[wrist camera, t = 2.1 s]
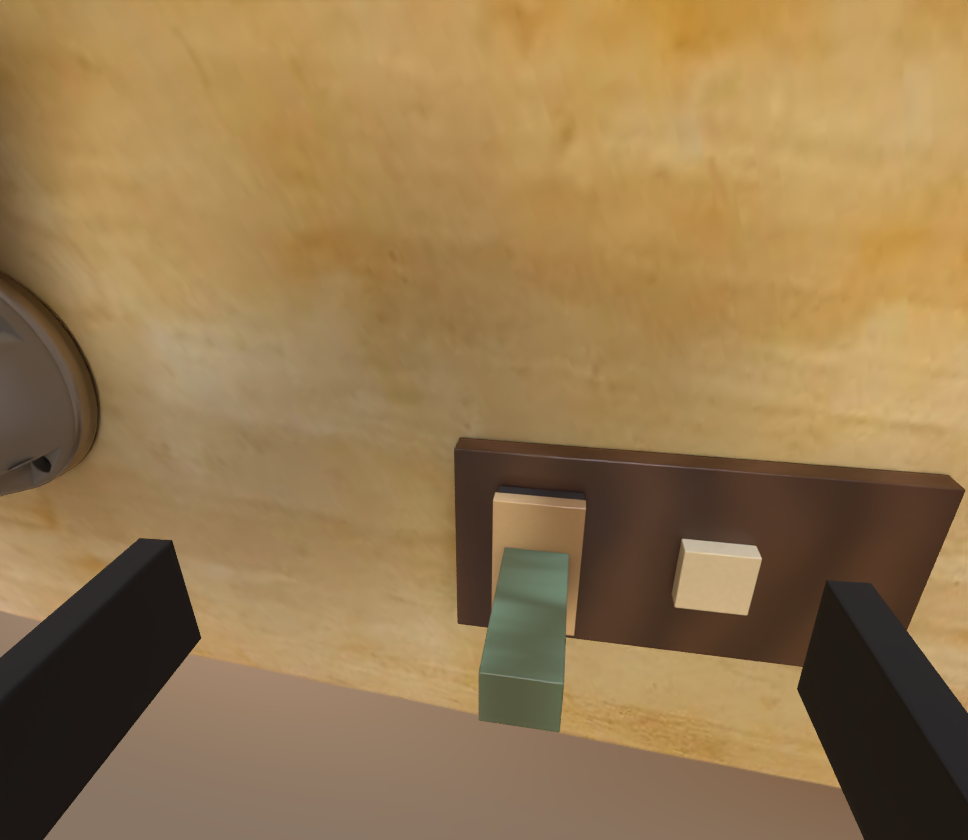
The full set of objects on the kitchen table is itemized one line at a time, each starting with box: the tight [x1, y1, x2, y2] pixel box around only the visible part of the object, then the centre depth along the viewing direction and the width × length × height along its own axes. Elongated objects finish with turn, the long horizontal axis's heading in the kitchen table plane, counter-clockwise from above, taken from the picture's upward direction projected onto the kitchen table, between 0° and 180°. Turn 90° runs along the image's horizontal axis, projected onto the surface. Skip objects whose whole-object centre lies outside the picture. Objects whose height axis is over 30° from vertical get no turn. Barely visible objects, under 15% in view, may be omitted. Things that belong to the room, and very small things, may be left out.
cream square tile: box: [672, 539, 762, 615], centre depth 32 cm, size 4×4×1 cm
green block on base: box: [479, 486, 586, 732], centre depth 29 cm, size 5×9×10 cm, turn 0°
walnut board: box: [454, 438, 965, 667], centre depth 33 cm, size 26×13×2 cm, turn 90°
